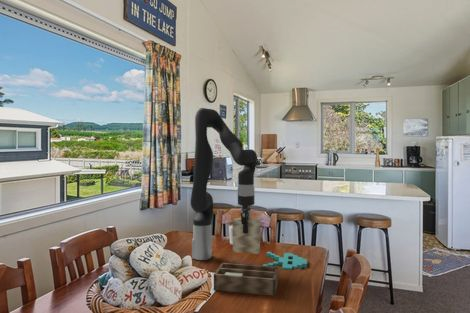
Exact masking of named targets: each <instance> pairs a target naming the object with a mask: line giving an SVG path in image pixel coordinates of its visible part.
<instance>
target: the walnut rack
mask: <svg viewBox="0 0 470 313" xmlns="http://www.w3.org/2000/svg"><path fill="white" fill-rule="evenodd" d="M226 272H229V273H242V274H243V276H236V275H224V274H225V273H226ZM278 283H279V266H273V267H272V266H263V265H256V264H243V263H230V262H221V264H219V266H218V268H217V269H216V270H215V272H214V274H213V290H214V291H220V292H221V291H222V292H232V293H233V292H234V293H242V294H243V293H244V294H255V295H267V296H276V294H277V288H278V285H279V284H278Z"/></svg>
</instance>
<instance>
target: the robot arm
mask: <svg viewBox="0 0 470 313" xmlns="http://www.w3.org/2000/svg"><path fill="white" fill-rule="evenodd" d="M194 116H195V117H194V125H195V127H194V129H195V141H194V142H195V143H194V144H195V147H194V161H193V166H194V167H193V177H192V178H193V179H192V181H193V182H192V190H191V196H190V206H191V209H192V210H193V211H194V212H195V215H194V217H193V219H192V221H193V222H192V223H193V224H192V232H193V234H192V240H191V258H192V259H194V260H197V261H207V260H210V259H212V253H213V252H212V220H213V215H214V201H213V196H212V194H211V193H209V192H208V191H207V186H208V181H209V179H210V176H211V174H212V172H213V171H212V169H213V167H214V166H213V164H214V151H213V149H212V147H211V145H210V142H209V139H208V128H212V129H213V130H214V131H216V132H217V133H218V135H219V140H220V142H221V143H222V145H223V146H224V147H225V148H226V150H227V151H228V152H229V153H230V156H231V157H232V160H233V161H234V162H235V163H236V164H237V165H239V166H243V169H242V170H240V171H239V172H238V175H237V181H238V182H237V184H238V185H237V204H238V205H239V206H242V208H241V209H240V218H241V222H242V225H243V233H246V234H247V233H248V220H249V218H251V216H252V208H251V206H253V205H255V177H254V176H255V172H256V168H257V164H258V155H257V153H256V151H255V150H254V149H243V146H244V144H243V142H242V141H241V139H239V138H238V137H237V135H235V134H234V132H232V130H231V129H230V128H229V127H228V126H227V123H225V121H224V119H223V118H222V116H221V115H220V113H219V112H218V111H217V110H215V109H212V108H205V107H200V108H198V109H197V110H196V112H195V115H194ZM251 219H252V218H251ZM244 221H246V222H244Z"/></svg>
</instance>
